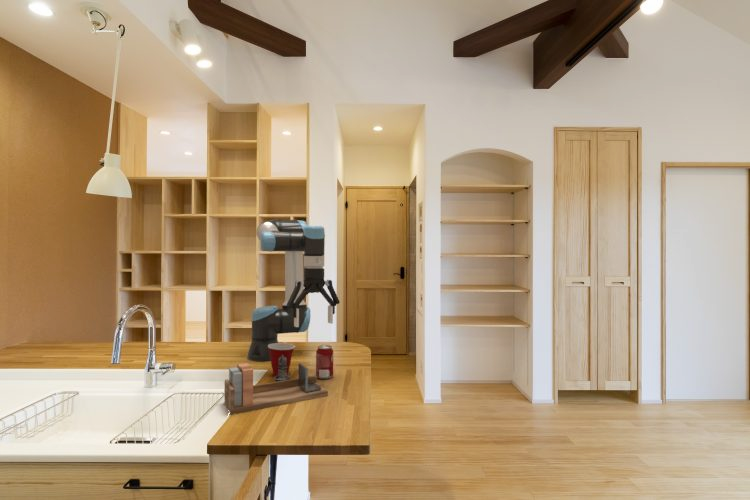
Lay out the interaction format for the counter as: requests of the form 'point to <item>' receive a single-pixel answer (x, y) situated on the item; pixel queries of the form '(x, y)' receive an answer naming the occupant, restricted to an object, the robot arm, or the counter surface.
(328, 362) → the soda can
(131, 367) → the counter surface
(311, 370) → the counter surface
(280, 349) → the plastic cup
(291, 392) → the wooden book rack
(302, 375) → the bookend
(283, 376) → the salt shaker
